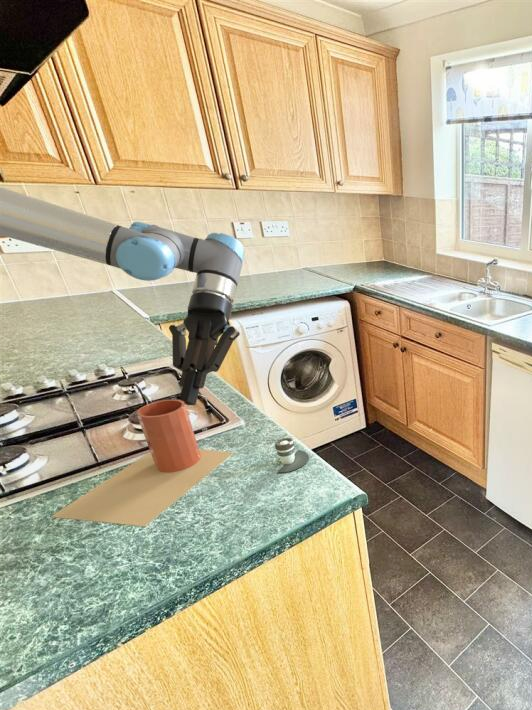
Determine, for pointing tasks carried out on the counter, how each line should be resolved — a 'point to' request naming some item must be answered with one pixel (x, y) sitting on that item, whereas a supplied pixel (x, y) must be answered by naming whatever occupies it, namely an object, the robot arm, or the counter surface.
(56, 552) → the counter surface
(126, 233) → the robot arm
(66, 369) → the counter surface
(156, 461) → the tumbler
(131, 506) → the mat
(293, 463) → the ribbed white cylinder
